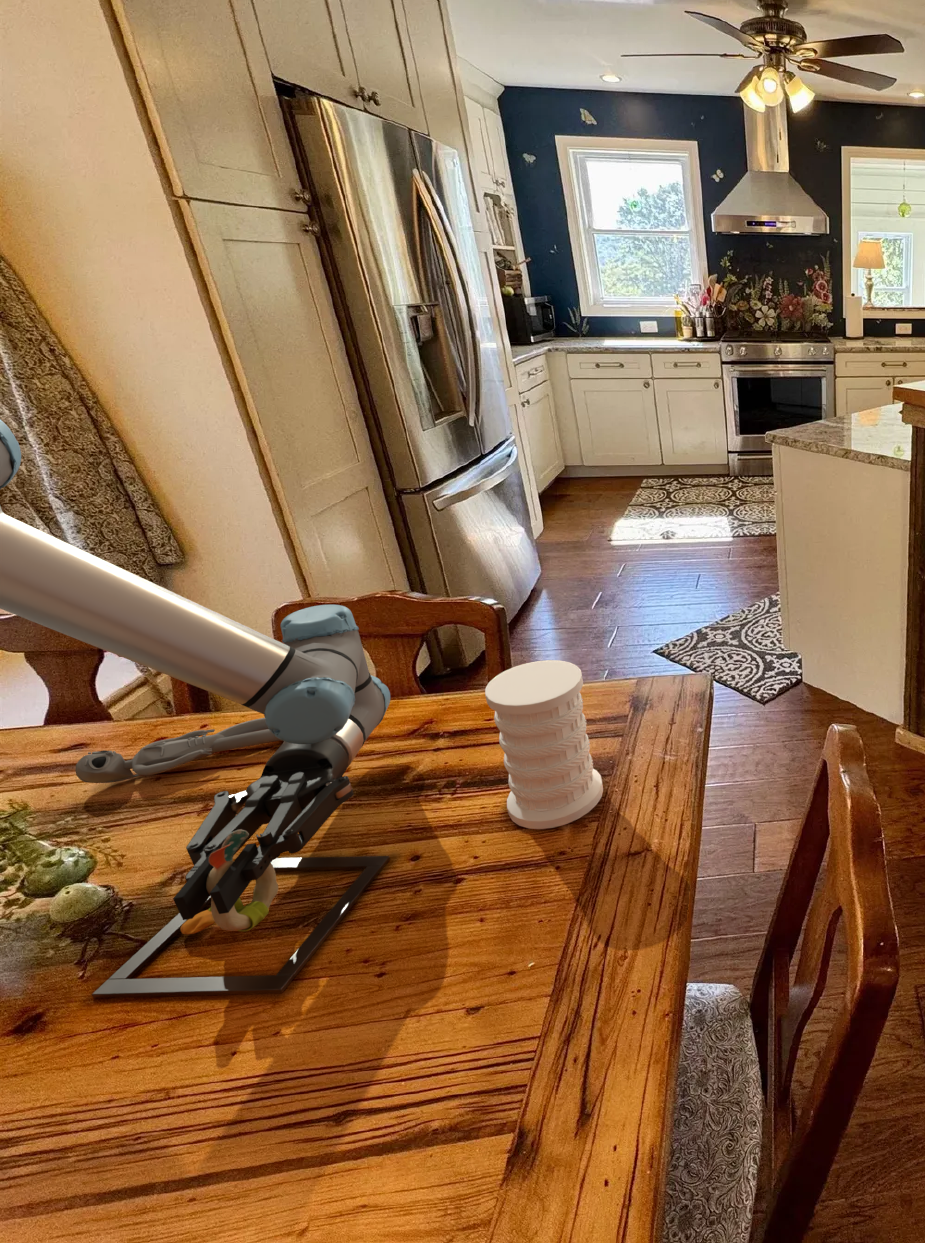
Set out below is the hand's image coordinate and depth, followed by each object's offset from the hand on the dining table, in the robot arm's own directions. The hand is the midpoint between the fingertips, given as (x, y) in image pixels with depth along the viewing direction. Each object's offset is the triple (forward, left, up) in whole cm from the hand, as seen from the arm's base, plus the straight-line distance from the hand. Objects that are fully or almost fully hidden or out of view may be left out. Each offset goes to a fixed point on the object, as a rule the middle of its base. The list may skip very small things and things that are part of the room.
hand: (201, 905), depth 67 cm
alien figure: (-29, +34, -8) cm, 46 cm away
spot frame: (-1, +5, -8) cm, 10 cm away
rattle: (-3, +6, -7) cm, 10 cm away
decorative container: (+23, +24, -8) cm, 34 cm away
